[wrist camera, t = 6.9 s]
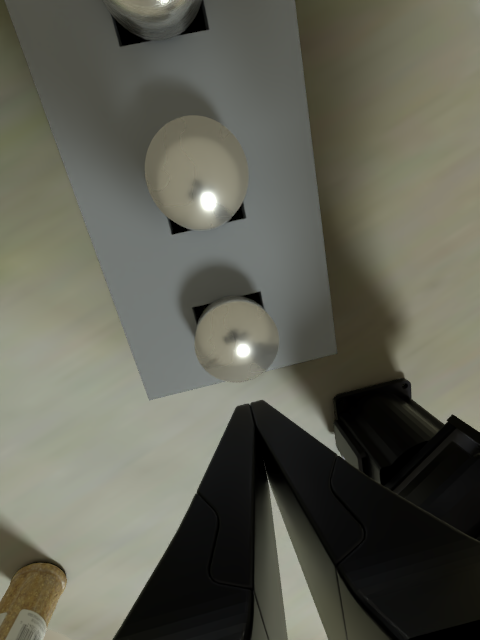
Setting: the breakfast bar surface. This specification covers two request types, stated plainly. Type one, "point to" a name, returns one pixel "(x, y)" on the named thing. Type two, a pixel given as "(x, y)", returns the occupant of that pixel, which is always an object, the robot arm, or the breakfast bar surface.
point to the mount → (131, 188)
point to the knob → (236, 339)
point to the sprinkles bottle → (30, 601)
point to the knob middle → (196, 172)
